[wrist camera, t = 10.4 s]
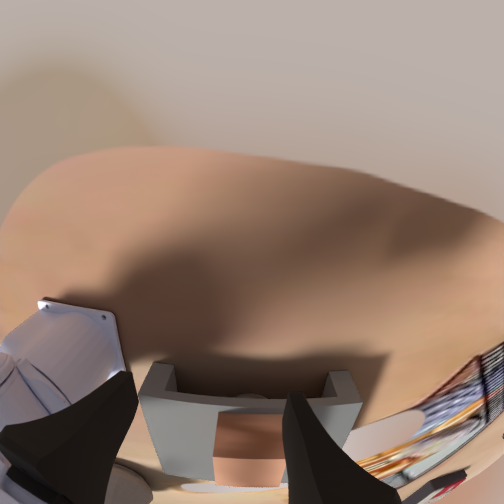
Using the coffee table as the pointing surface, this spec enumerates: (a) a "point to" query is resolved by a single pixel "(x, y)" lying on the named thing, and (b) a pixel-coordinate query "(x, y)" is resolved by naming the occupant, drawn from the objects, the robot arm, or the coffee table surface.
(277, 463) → the peg
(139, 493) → the coffee pot
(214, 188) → the coffee table surface
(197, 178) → the coffee table surface
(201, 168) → the coffee table surface
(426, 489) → the red and grey box
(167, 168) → the coffee table surface
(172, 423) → the keyhole plate
